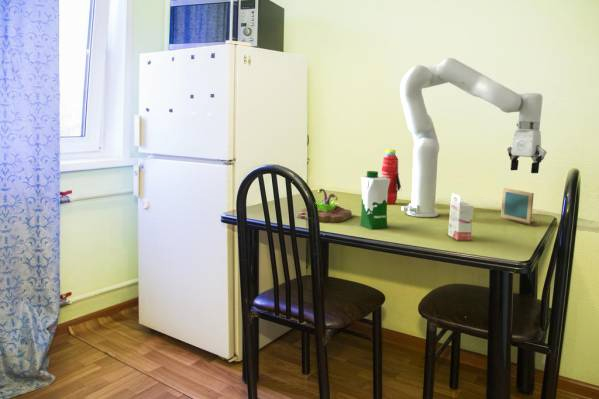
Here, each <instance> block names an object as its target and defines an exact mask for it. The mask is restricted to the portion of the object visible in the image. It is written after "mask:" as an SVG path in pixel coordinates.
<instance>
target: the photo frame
mask: <svg viewBox="0 0 599 399" xmlns="http://www.w3.org/2000/svg"><path fill="white" fill-rule="evenodd" d="M534 195H535V193H534V192H529V191H524V190H518V189H514V188H508V187H503V188H502V200H501V213H500V217H501V218H502V217H505V218H509V219H513V220H517V221H521V222H525V223H531V220H532V217H533V216H532V215H533V205H534Z"/></svg>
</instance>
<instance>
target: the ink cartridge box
mask: <svg viewBox="0 0 599 399" xmlns="http://www.w3.org/2000/svg"><path fill="white" fill-rule="evenodd" d="M455 198H456V199H455ZM461 199H462V196H461V195H458V194H456V193H453V192H452V193H451V196H450V203H449V217H448V230H447V231H448V233H447V234H448V236H450V237H451V238H452V239H454V240H456V241H472V234H473V232H472V230H473V217H474V205H472V204H470V203H467V202H465V201H462V200H461Z"/></svg>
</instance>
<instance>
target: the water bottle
mask: <svg viewBox="0 0 599 399" xmlns="http://www.w3.org/2000/svg"><path fill="white" fill-rule="evenodd" d="M399 175H400V173H399V158H398V157H397V155H396V149H392V148H388V149H386V150H385V154H384V156H383V157H382V160H381V177H385V178H388V179H390V183H389V187H388V195H387V205H394V204H396V203H397V200H398V192H399V191H400V190H401V189H402V185H401V181H400V177H399Z"/></svg>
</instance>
